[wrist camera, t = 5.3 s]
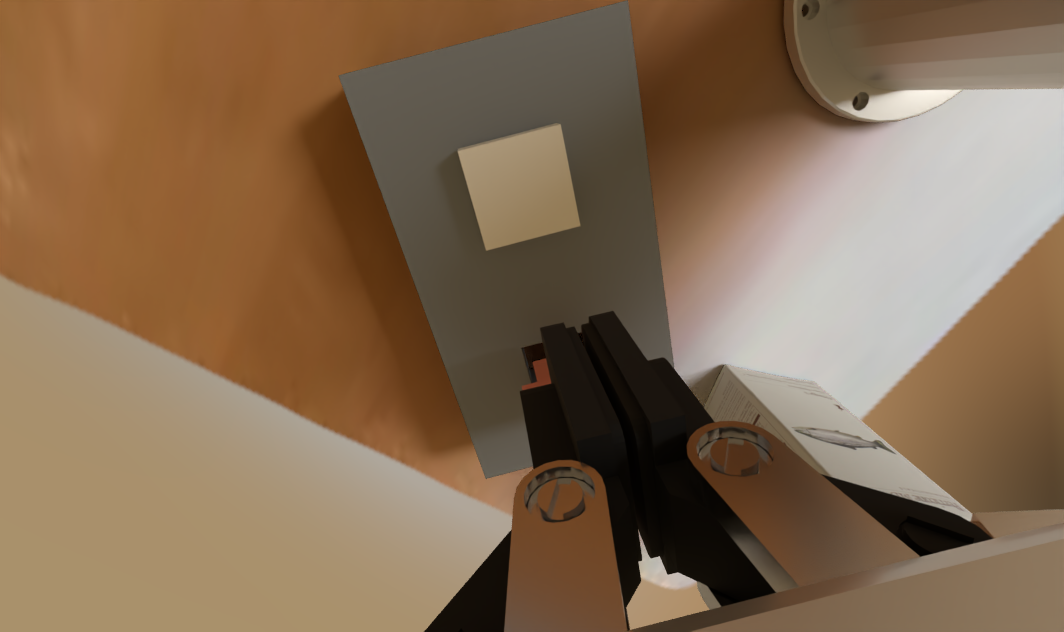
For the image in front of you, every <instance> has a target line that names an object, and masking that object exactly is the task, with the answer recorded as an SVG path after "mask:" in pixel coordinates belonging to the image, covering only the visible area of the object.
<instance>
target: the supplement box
mask: <svg viewBox="0 0 1064 632" xmlns="http://www.w3.org/2000/svg"><path fill="white" fill-rule="evenodd" d="M704 409H705V410H706V411H707V413H708V414H709V415H710V416H711V418H712V419H713V420H714V422H719V421H739V422H745V423H750V424H753V425H755V426H758V427H761V428H763V429H765V430H766V431H768V432H769V433H771V434H773V435H774V436H775V437H776V438H778V439H779V440H780V441H781V442H782V443H784V444H785V445H786V446H787V447H789V448H790V449H791V450H792V451H793V452H795V453H796V454H797V455H798V456H799V457H801V458H802V459H803V460H804V461H805V462H807V463H808V464H809V465H810V466H811V467H813V468H814V469H815V470H816V471H818V472H819V473H820V474H823V475H826V476H830V477H833V478H837V479H840V480H844V481H847V482H851V483H854V484H858V485H861V486H865V487H868V488H871V489H875V490H878V491H882V492H885V493H889V494H892V495H896V496H899V497H903V498H906V499H910V500H913V501H917V502H920V503H924V504H927V505H931V506H934V507H938V508H941V509H943V510H946V511H948V512H951V513H954V514H956V515H959V516H961V517H963V518H964V519H966V520H968V521H971V518H972V514H971V513H970V512H969V511H968V510H967V509H966V508H964V507H963V506H962V505H961V504H959V503H958V502H957V501H956V500H955V499H954V498H952V497H951V496H950V495H949V494H948V493H946V492H945V491H944V490H943V489H941V488H940V487H939V486H938V485H937V484H936V483H934V482H933V481H932V480H931V479H929V478H928V477H927V476H926V475H925V474H924V473H922V472H921V471H920V470H919V469H918V468H916V467H915V466H914V465H913V464H912V463H910V462H909V461H908V460H907V459H906V458H905V457H904V456H902V455H901V454H900V453H899V452H897V451H896V450H895V449H894V448H893V447H892V446H890V445H889V444H888V443H887V442H886V441H885V440H883V439H882V438H881V437H880V436H879V435H877V434H876V433H875V432H874V431H873V430H871V429H870V428H869V427H868V426H867V425H866V424H864V423H863V422H862V421H861V420H860V419H858V418H857V417H856V416H855V415H854V414H852V413H851V412H850V411H849V410H848V409H847V408H845V407H844V406H843V405H842V404H841V403H839V402H838V401H837V400H836V399H835V398H833V397H832V396H831V395H830V394H829V393H827V392H826V391H825V390H824V389H823V388H821V387H820V386H819V385H818V384H817V383H815V382H814V381H807V380H800V379H793V378H788V377H782V376H776V375H771V374H766V373H762V372H757V371H752V370H747V369H743V368H739V367H735V366H731V365H726V364H725V365H724V367H723V368H722V370H721V372H720V374H719V376H718V378H717V380H716V382H715V385H714V387H713V388H712V390H711V393H710V395H709V397H708V399H707V401H706V403H705V405H704Z"/></svg>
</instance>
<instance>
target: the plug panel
mask: <svg viewBox="0 0 1064 632" xmlns="http://www.w3.org/2000/svg"><path fill="white" fill-rule="evenodd" d="M338 76H339V78H340V81H341V84H342V87H343V89H344V92H345V95H346V97H347V100H348V103H349V106H350V108H351V111H352V114H353V117H354V119H355V122H356V125H357V128H358V130H359V133H360V136H361V138H362V141H363V144H364V147H365V149H366V152H367V155H368V158H369V160H370V163H371V166H372V169H373V171H374V174H375V177H376V180H377V182H378V185H379V188H380V190H381V193H382V196H383V199H384V201H385V204H386V207H387V210H388V212H389V215H390V218H391V221H392V223H393V226H394V229H395V232H396V234H397V237H398V240H399V242H400V245H401V248H402V251H403V253H404V256H405V259H406V262H407V264H408V267H409V270H410V273H411V275H412V278H413V281H414V283H415V286H416V289H417V292H418V294H419V297H420V300H421V303H422V305H423V308H424V311H425V314H426V316H427V319H428V322H429V325H430V327H431V330H432V333H433V335H434V338H435V341H436V344H437V346H438V349H439V352H440V355H441V357H442V360H443V363H444V366H445V368H446V371H447V374H448V377H449V379H450V382H451V385H452V387H453V390H454V393H455V396H456V398H457V401H458V404H459V407H460V409H461V412H462V415H463V418H464V420H465V423H466V426H467V428H468V431H469V434H470V437H471V439H472V442H473V445H474V448H475V450H476V453H477V456H478V459H479V461H480V464H481V467H482V470H483V472H484V475H485V478H486V479H487V478H491V477H495V476H499V475H502V474H506V473H510V472H514V471H517V470H521V469H525V468H529V467H532V466H533V463H532V457H531V452H530V446H529V441H528V435H527V430H526V424H525V419H524V413H523V408H522V402H521V397H520V391H521V390H522V386H523V385H527V384H531V383H535V382H537V379H536V374H535V370H534V368H532V369H529V366H528V362H527V359H526V355H525V351H524V348H523V347H527V346H531V345H534V344H538V343H542V337H541V332H540V328H541V327H545V326H550V325H554V324H558V323H563V322H564V324H565V327H566V328H569V327H573V326H574V327H575V329H576V331H577V333H580V332H582V331H581V325H582V324H586V323H589V319H588V318H589V316H593V315H597V314H601V313H605V312H610V311H614V312H615V314H616V315H617V317H618V318H619V320H620V321H621V323H622V324H623V326H624V327H625V328H626V330H627V331H628V333H629V334H630V336H631V337H632V339H633V340H634V342H635V343H636V344H637V346H638V347H639V349H640V350H641V352H642V353H643V355H644V356H645V357H646V359H647V360H653V359H657V358H661V357H663V358H666V359H667V360H668V362H669V363H670V364H671V365H672V367H673V368H674V363H673V355H672V347H671V339H670V331H669V323H668V315H667V307H666V299H665V291H664V283H663V276H662V268H661V260H660V252H659V244H658V236H657V228H656V220H655V212H654V204H653V196H652V188H651V180H650V172H649V164H648V156H647V148H646V140H645V132H644V124H643V116H642V108H641V100H640V92H639V84H638V76H637V68H636V60H635V52H634V44H633V36H632V28H631V20H630V12H629V5H628V0H627V1H623V2H619V3H616V4H612V5H608V6H604V7H600V8H596V9H592V10H589V11H585V12H581V13H577V14H573V15H569V16H565V17H562V18H558V19H554V20H550V21H546V22H542V23H539V24H535V25H531V26H527V27H523V28H519V29H515V30H512V31H508V32H504V33H500V34H496V35H492V36H488V37H485V38H481V39H477V40H473V41H469V42H465V43H461V44H458V45H454V46H450V47H446V48H442V49H438V50H434V51H431V52H427V53H423V54H419V55H415V56H411V57H408V58H404V59H400V60H396V61H392V62H388V63H384V64H381V65H377V66H373V67H369V68H365V69H361V70H357V71H354V72H350V73H346V74H342V75H338ZM555 123H558V124H561V129H562V134H563V139H564V144H565V149H566V154H567V159H568V164H569V170H570V175H571V180H572V185H573V190H574V195H575V200H576V206H577V211H578V216H579V221H580V226H578V227H575V228H571V229H567V230H563V231H559V232H556V233H552V234H548V235H544V236H540V237H537V238H533V239H529V240H525V241H521V242H518V243H514V244H510V245H506V246H502V247H499V248H495V249H491V250H487V251H486V249H485V245H484V242H483V238H482V235H481V231H480V228H479V224H478V221H477V217H476V214H475V210H474V207H473V203H472V200H471V196H470V193H469V189H468V186H467V182H466V179H465V175H464V172H463V169H462V165H461V162H460V158H459V155H458V149H459V148H463V147H467V146H471V145H475V144H478V143H482V142H486V141H490V140H494V139H498V138H501V137H505V136H509V135H513V134H517V133H521V132H524V131H528V130H532V129H536V128H540V127H544V126H547V125H551V124H555Z"/></svg>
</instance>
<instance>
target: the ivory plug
mask: <svg viewBox="0 0 1064 632" xmlns="http://www.w3.org/2000/svg"><path fill="white" fill-rule="evenodd" d="M458 155H459V158H460V162H461V165H462V169H463V172H464V175H465V179H466V182H467V186H468V189H469V193H470V196H471V200H472V203H473V207H474V210H475V214H476V217H477V221H478V224H479V228H480V231H481V235H482V238H483V242H484V245H485V249H486V251H487V250H491V249H495V248H499V247H502V246H506V245H510V244H514V243H518V242H521V241H525V240H529V239H533V238H537V237H540V236H544V235H548V234H552V233H556V232H559V231H563V230H567V229H571V228H575V227H578V226H580V221H579V216H578V211H577V206H576V200H575V195H574V190H573V185H572V180H571V175H570V170H569V164H568V159H567V154H566V149H565V144H564V139H563V134H562V129H561V124H558V123H555V124H551V125H547V126H544V127H540V128H536V129H532V130H528V131H524V132H521V133H517V134H513V135H509V136H505V137H501V138H498V139H494V140H490V141H486V142H482V143H478V144H475V145H471V146H467V147H463V148H459V149H458Z"/></svg>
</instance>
